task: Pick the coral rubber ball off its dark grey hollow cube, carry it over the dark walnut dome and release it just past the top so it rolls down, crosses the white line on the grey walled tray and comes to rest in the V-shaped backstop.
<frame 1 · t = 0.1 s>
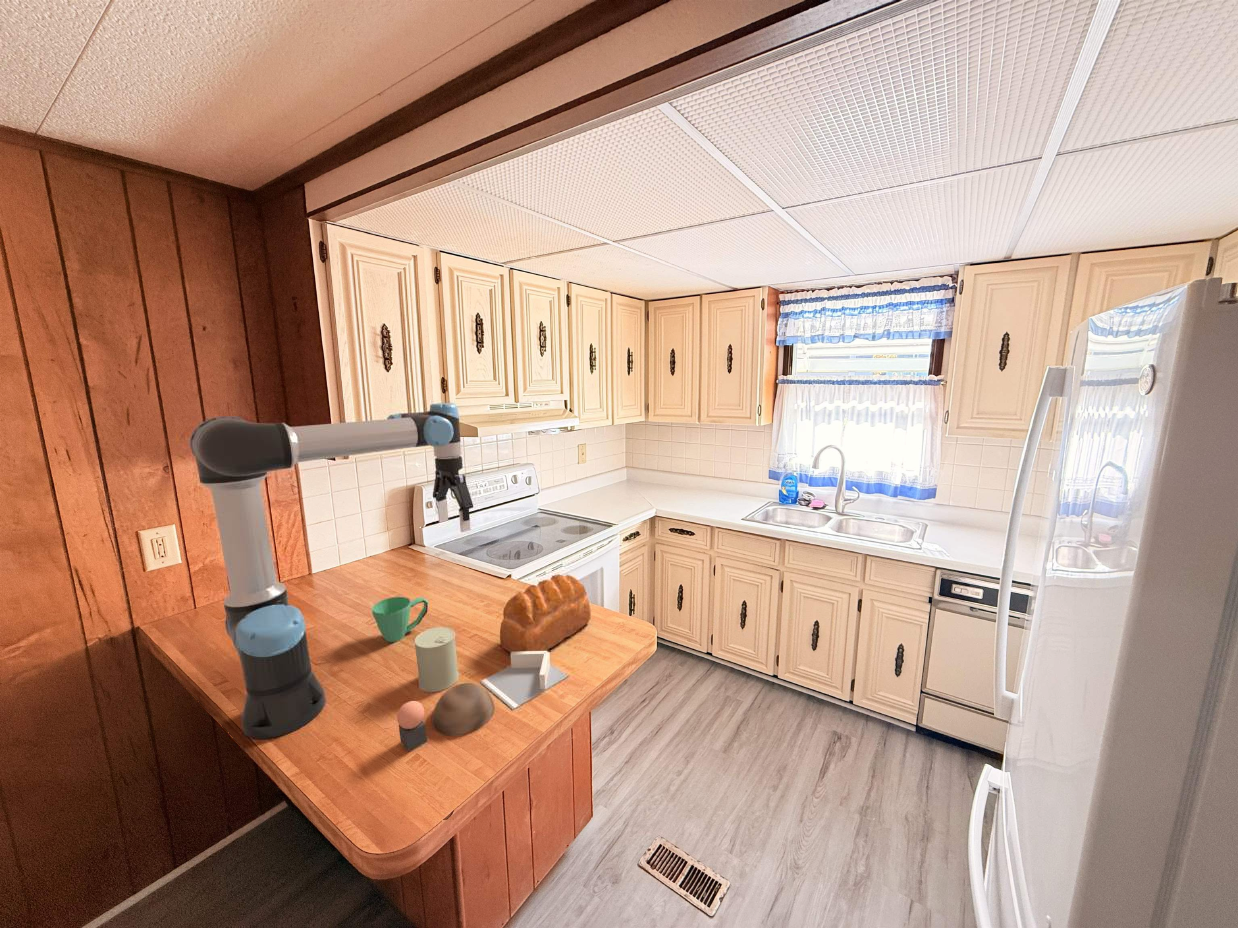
hand: (454, 526, 144), 28 cm above the countertop, fingers open, 13 cm apart
mug: (404, 634, 137), on the countertop
dome: (463, 713, 105), on the countertop
ball: (410, 714, 96), point 6 cm above the countertop, touching dark grey hollow cube
grey walled tray: (524, 679, 116), on the countertop
bread: (548, 634, 136), on the countertop, touching grey walled tray
can: (439, 680, 117), on the countertop
dark grey hollow cube: (414, 741, 97), on the countertop
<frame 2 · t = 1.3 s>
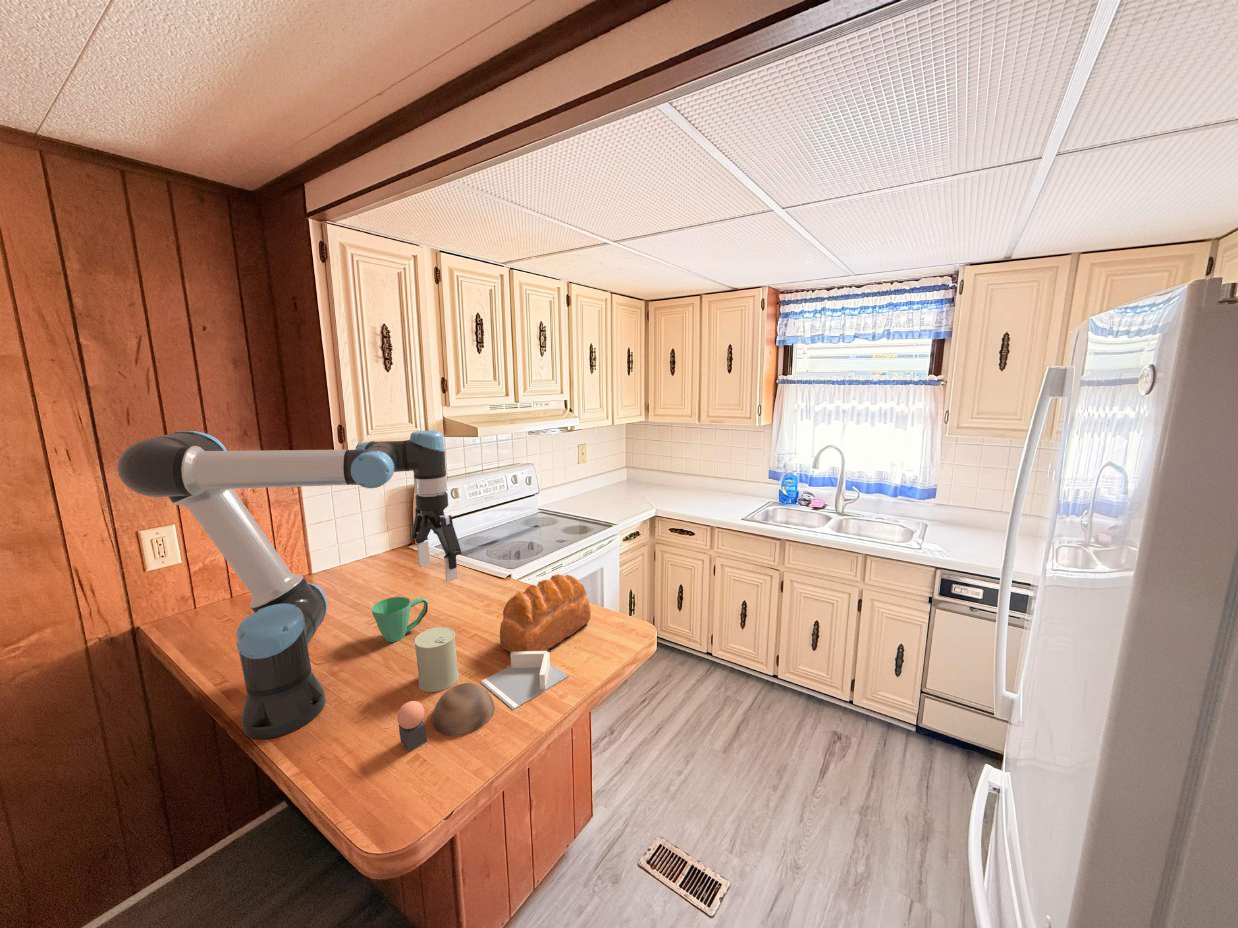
hand: (437, 572, 124), 23 cm above the countertop, fingers open, 13 cm apart
nothing on the countertop moved.
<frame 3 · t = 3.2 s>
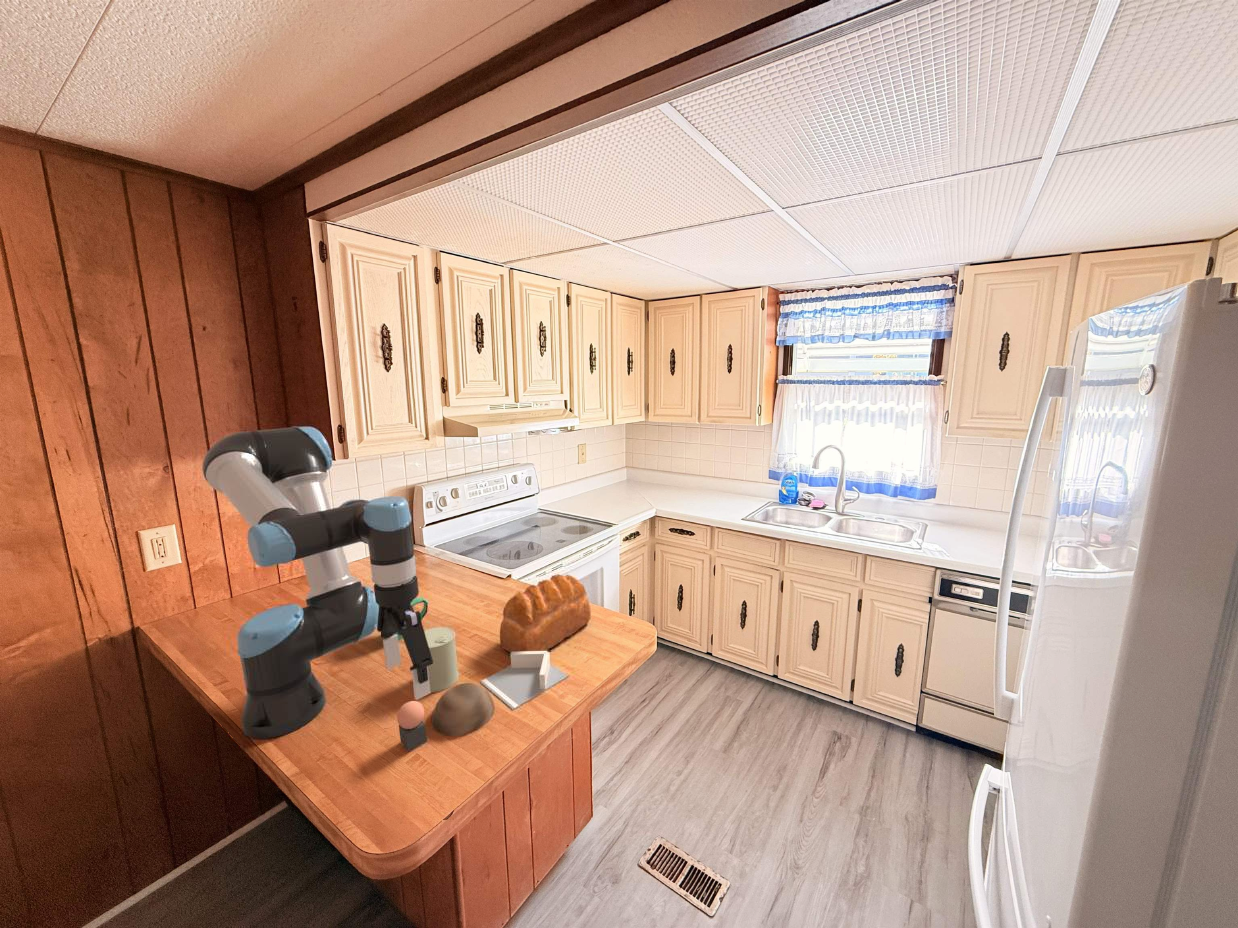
hand: (407, 680, 94), 14 cm above the countertop, fingers open, 13 cm apart
nothing on the countertop moved.
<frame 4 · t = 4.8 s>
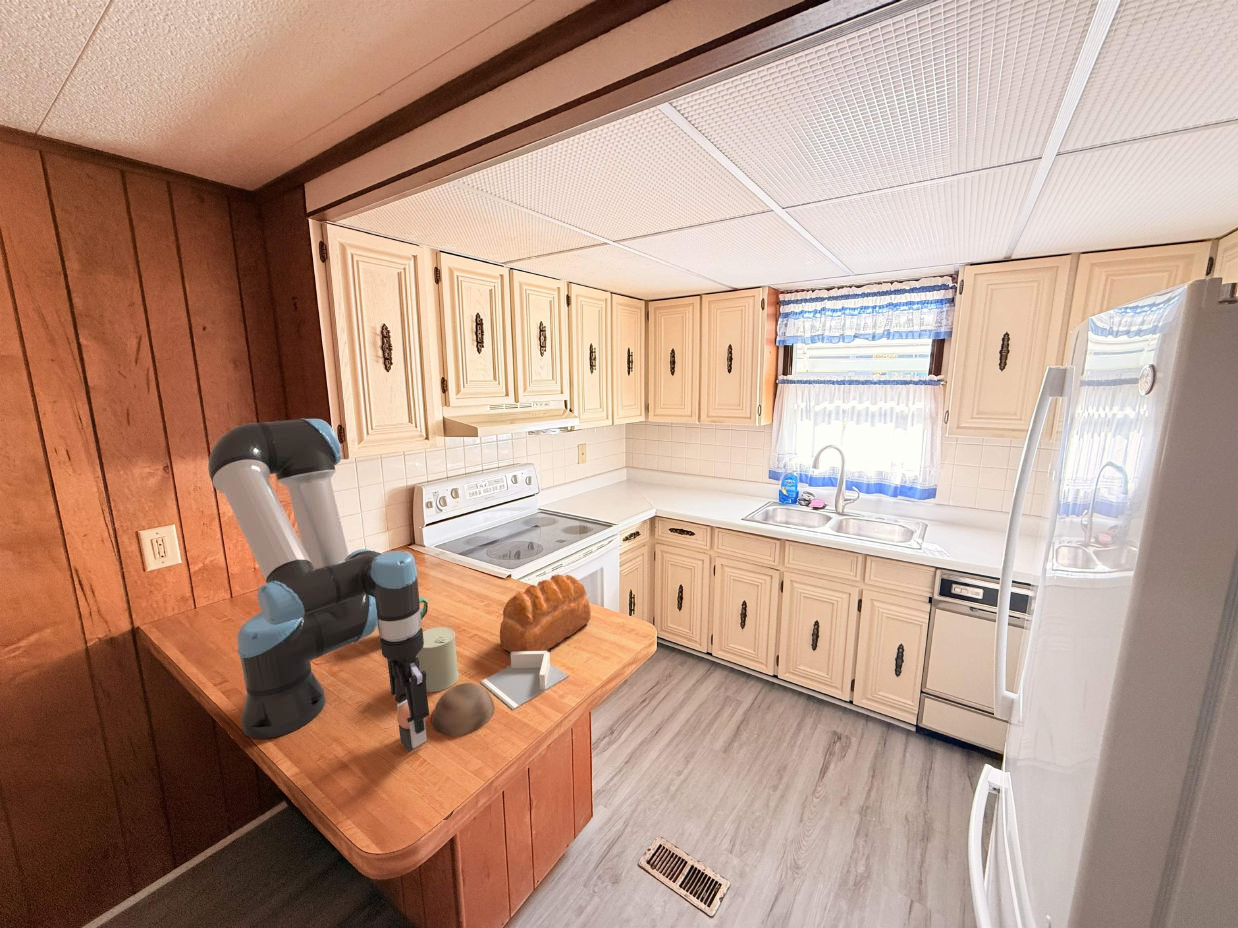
hand: (413, 736, 97), 1 cm above the countertop, fingers closed on ball, 5 cm apart
ball: (410, 714, 96), point 6 cm above the countertop, touching gripper, dark grey hollow cube
everything else where it was.
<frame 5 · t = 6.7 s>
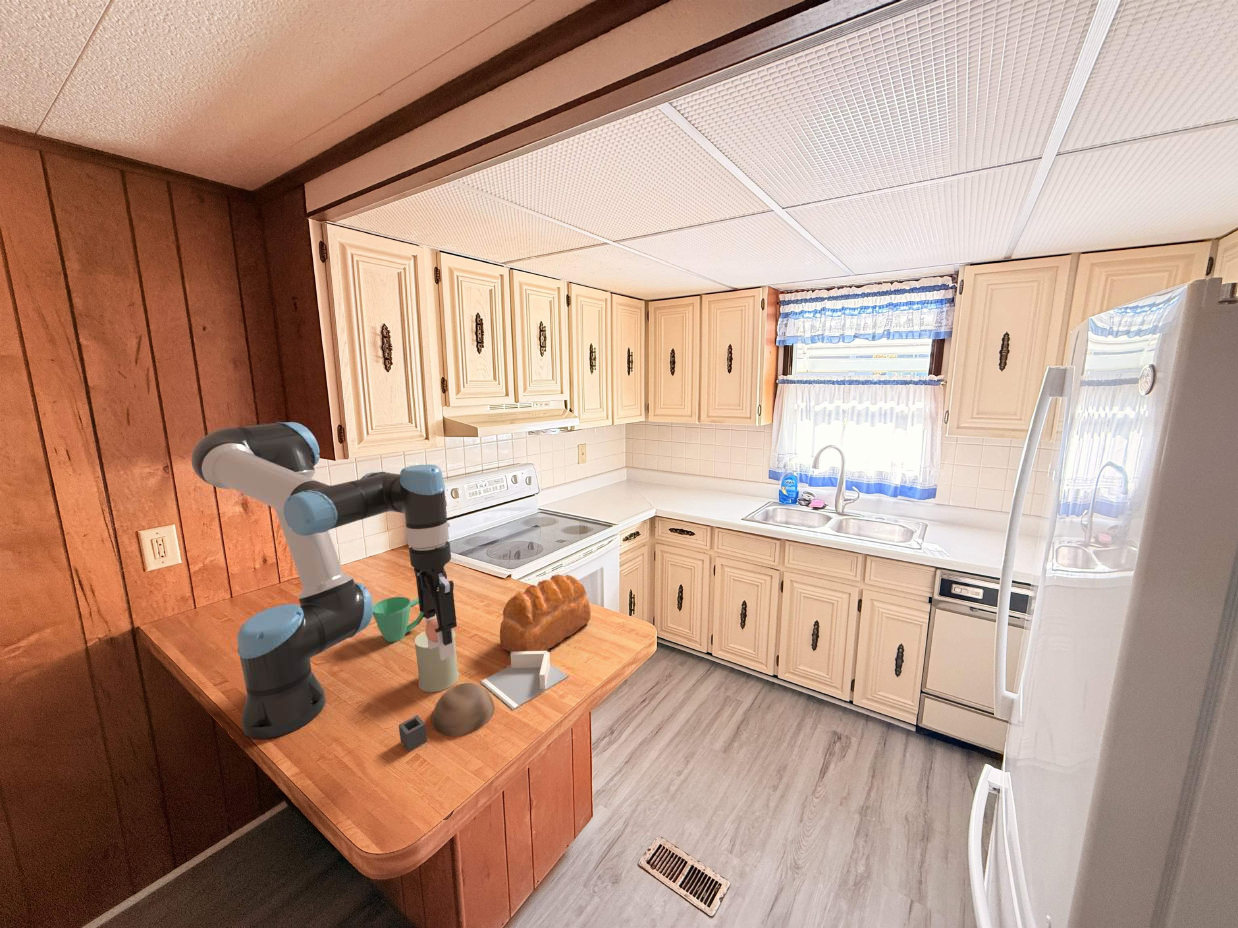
hand: (441, 651, 99), 17 cm above the countertop, fingers closed on ball, 5 cm apart
ball: (438, 629, 98), point 22 cm above the countertop, touching gripper
everything else where it was.
when the fingers open (7 cm above the countertop, at t = 8.4 s): ball drops 9 cm and tips over, resting on grey walled tray.
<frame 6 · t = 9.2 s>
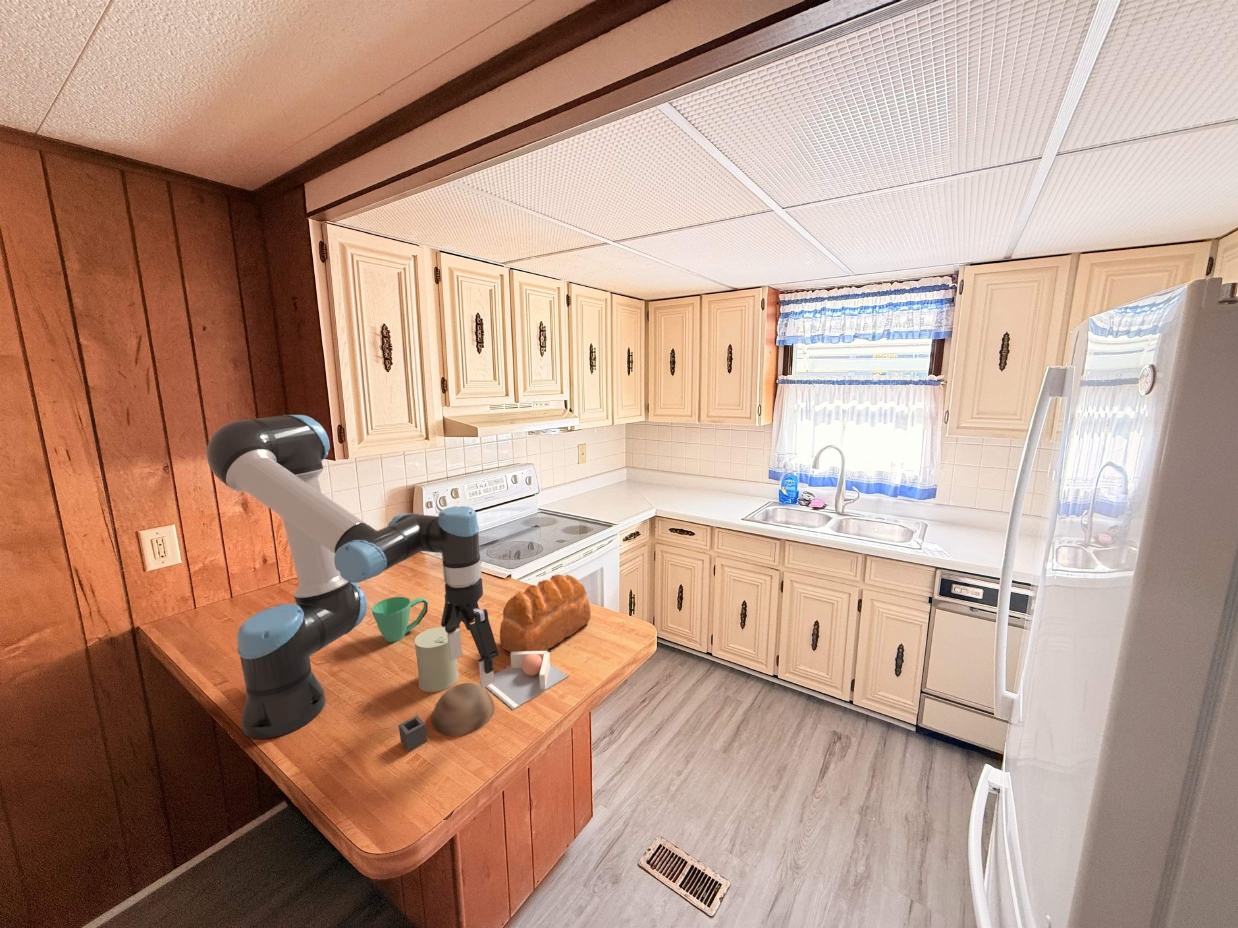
hand: (471, 670, 105), 9 cm above the countertop, fingers open, 13 cm apart
ball: (532, 664, 118), point 3 cm above the countertop, tilted 54°, touching grey walled tray
everything else where it was.
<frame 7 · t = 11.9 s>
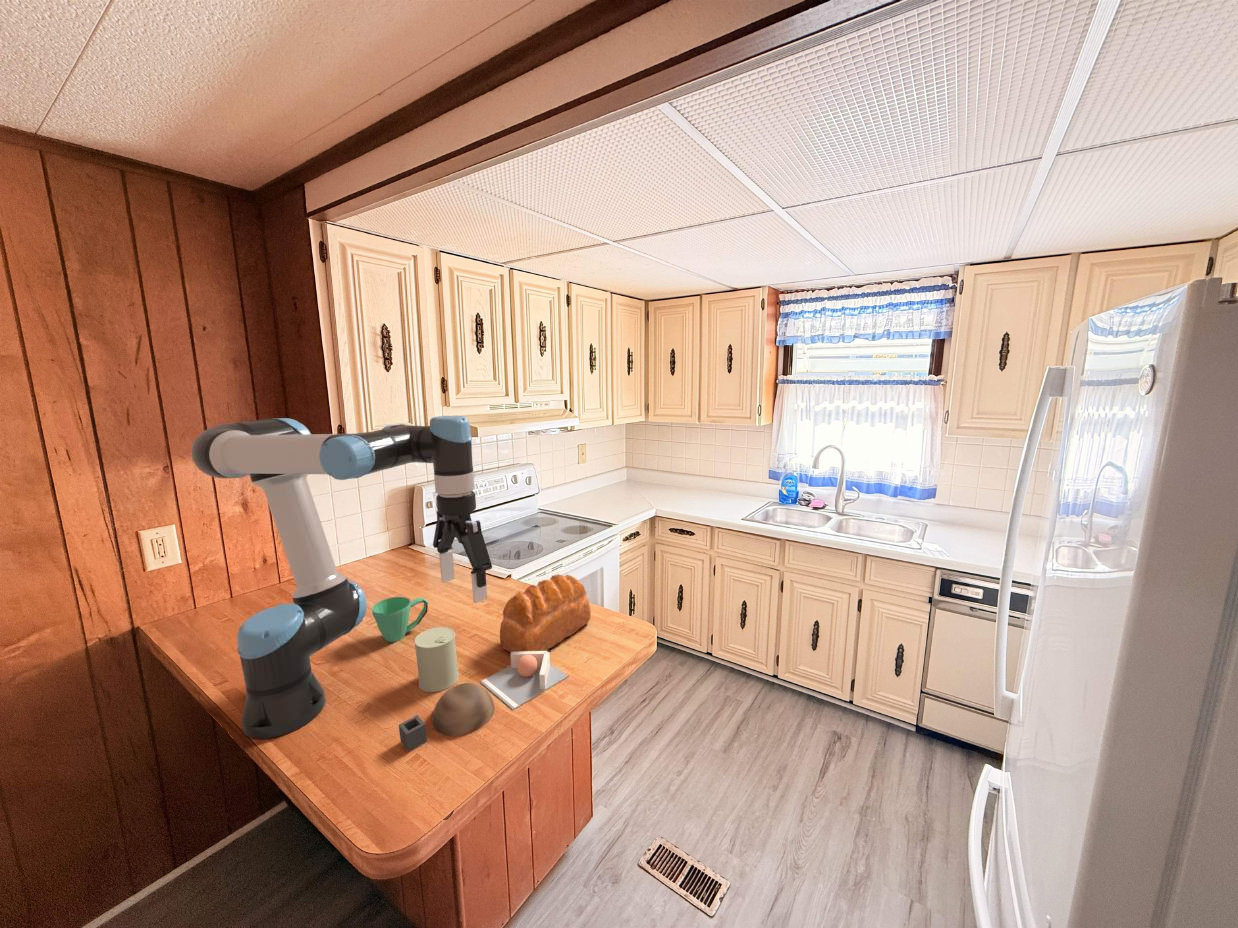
hand: (463, 589, 101), 28 cm above the countertop, fingers open, 13 cm apart
ball: (527, 665, 117), point 3 cm above the countertop, tilted 36°, touching grey walled tray
everything else where it was.
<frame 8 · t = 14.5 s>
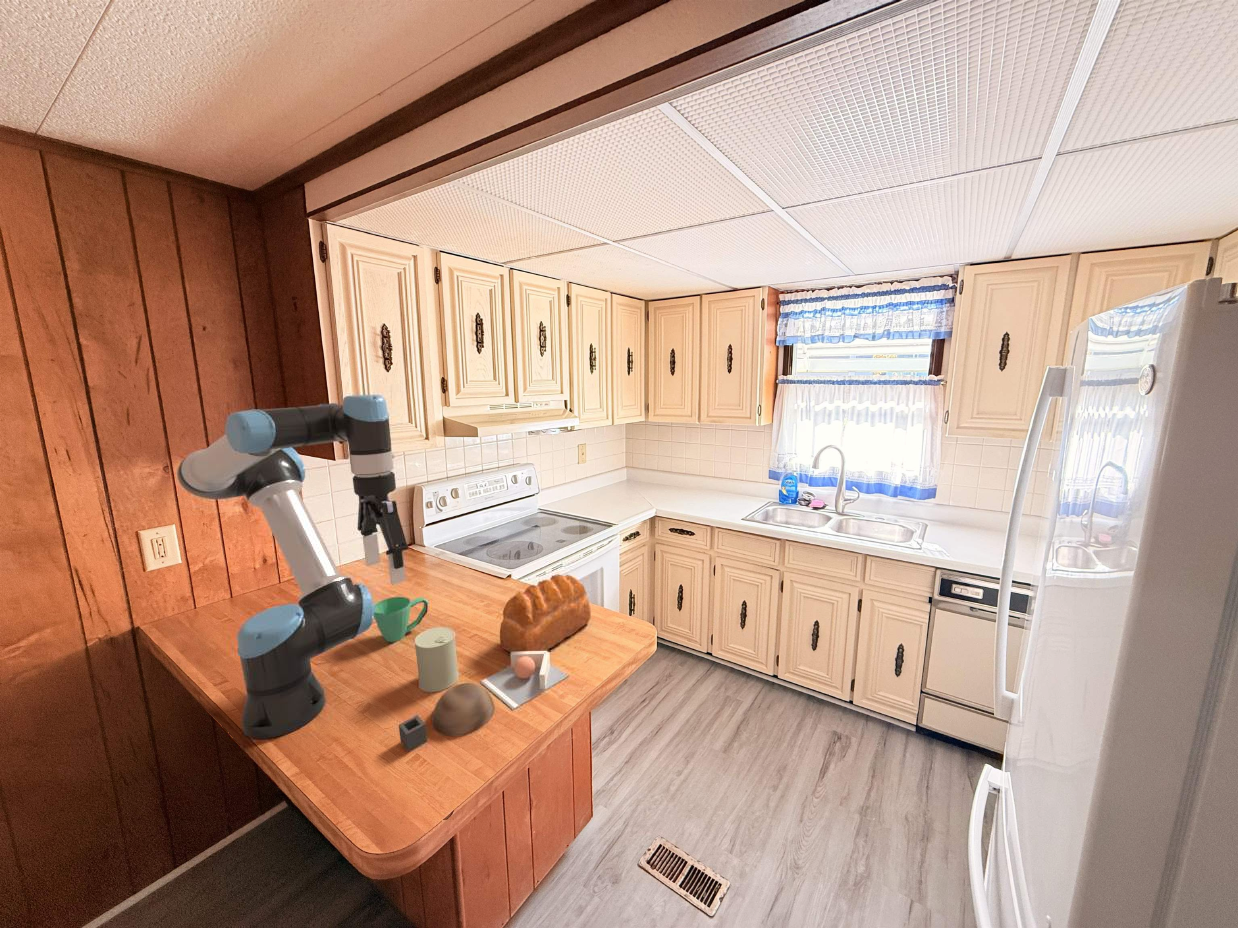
hand: (385, 572, 100), 33 cm above the countertop, fingers open, 13 cm apart
ball: (524, 667, 117), point 3 cm above the countertop, tilted 21°, touching grey walled tray
everything else where it was.
at the end: ball inside the target area (2.8 cm from its centre), point 2.7 cm above the countertop; the gripper is holding nothing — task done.
